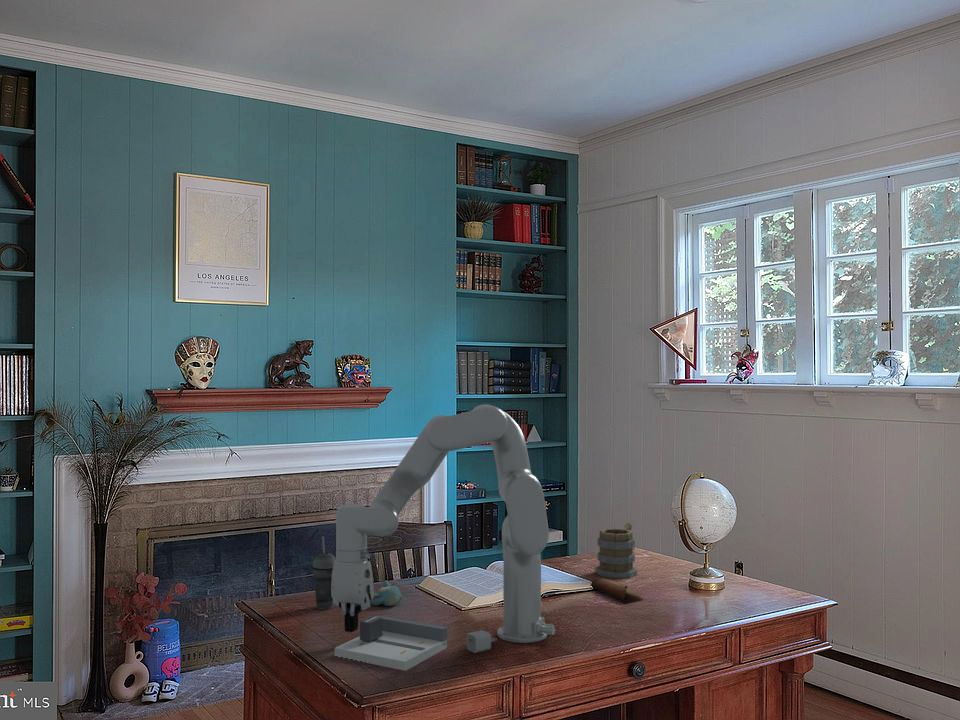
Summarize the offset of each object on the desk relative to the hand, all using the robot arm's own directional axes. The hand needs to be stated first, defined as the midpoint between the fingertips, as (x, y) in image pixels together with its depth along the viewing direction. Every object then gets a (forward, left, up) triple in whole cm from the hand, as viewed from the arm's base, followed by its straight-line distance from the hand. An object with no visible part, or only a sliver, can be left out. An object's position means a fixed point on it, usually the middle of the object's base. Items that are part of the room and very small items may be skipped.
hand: (351, 630), depth 207 cm
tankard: (-33, -104, -4) cm, 109 cm away
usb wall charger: (-30, -13, -4) cm, 33 cm away
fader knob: (-6, 0, -1) cm, 6 cm away
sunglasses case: (-42, -76, -4) cm, 86 cm away
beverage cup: (+26, -22, -4) cm, 34 cm away
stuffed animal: (+14, -34, -4) cm, 37 cm away
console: (-12, 0, -3) cm, 12 cm away
